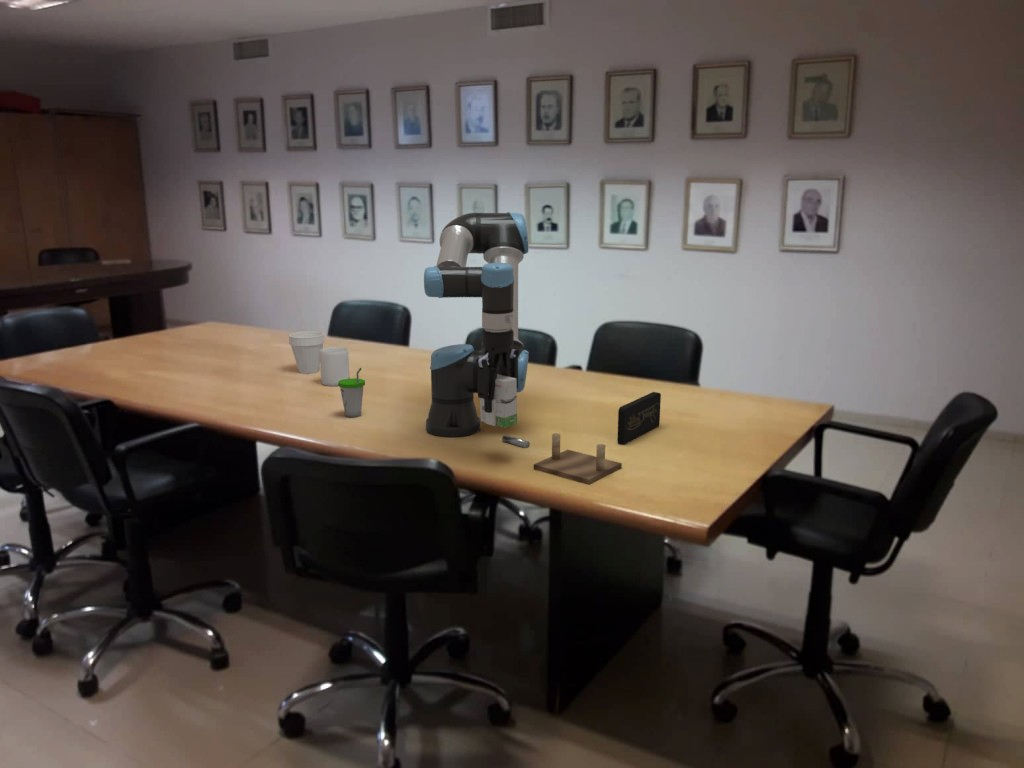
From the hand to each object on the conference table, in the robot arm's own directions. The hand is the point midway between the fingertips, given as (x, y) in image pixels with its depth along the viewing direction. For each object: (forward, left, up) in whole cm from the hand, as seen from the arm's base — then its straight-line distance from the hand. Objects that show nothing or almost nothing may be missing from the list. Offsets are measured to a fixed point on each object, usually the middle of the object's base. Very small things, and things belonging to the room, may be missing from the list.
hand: (498, 421), depth 200 cm
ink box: (0, 0, -1) cm, 1 cm away
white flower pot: (-114, +27, -10) cm, 117 cm away
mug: (-94, +22, -10) cm, 97 cm away
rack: (+19, +6, -10) cm, 23 cm away
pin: (-4, +12, -9) cm, 16 cm away
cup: (-58, +1, -10) cm, 58 cm away
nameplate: (+17, +39, -10) cm, 44 cm away
